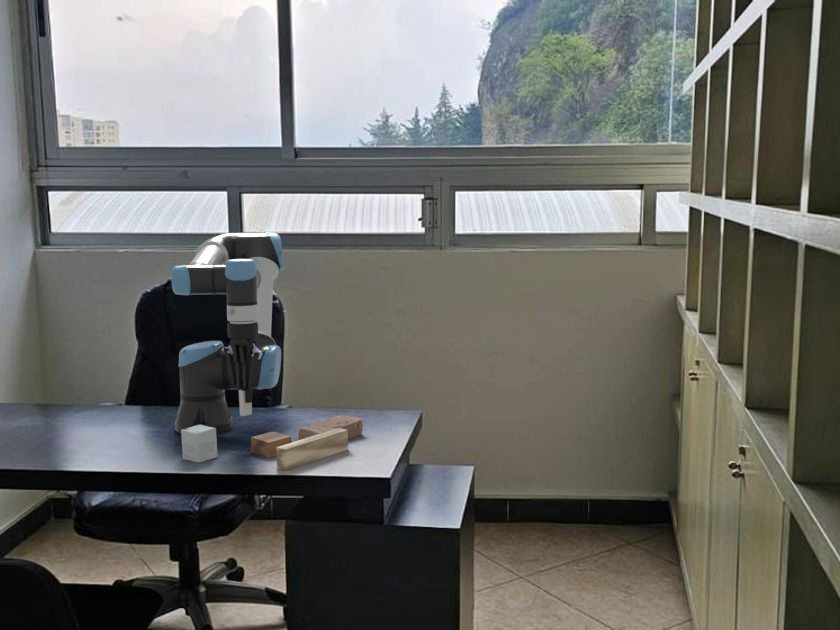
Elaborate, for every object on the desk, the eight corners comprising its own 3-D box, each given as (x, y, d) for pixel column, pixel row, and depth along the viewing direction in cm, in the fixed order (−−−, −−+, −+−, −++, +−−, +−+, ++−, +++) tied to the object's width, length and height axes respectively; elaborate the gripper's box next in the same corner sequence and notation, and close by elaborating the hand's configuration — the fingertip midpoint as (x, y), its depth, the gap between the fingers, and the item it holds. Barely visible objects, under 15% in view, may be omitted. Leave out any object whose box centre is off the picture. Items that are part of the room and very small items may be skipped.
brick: (320, 450, 221) (319, 431, 220) (296, 444, 226) (296, 426, 225) (364, 435, 234) (364, 418, 233) (341, 430, 239) (340, 413, 238)
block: (251, 453, 219) (250, 437, 218) (274, 446, 224) (273, 431, 223) (269, 458, 214) (268, 442, 213) (291, 452, 219) (291, 436, 218)
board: (276, 468, 205) (276, 447, 205) (339, 447, 222) (338, 427, 221) (286, 470, 204) (285, 449, 203) (348, 449, 220) (347, 429, 219)
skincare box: (218, 457, 214) (216, 427, 213) (197, 463, 210) (196, 433, 209) (202, 453, 218) (200, 423, 217) (181, 459, 213) (180, 429, 212)
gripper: (213, 321, 221) (217, 414, 224) (248, 325, 213) (252, 421, 216) (237, 318, 227) (240, 408, 230) (272, 321, 219) (274, 415, 222)
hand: (245, 414), depth 223 cm, fingers closed
